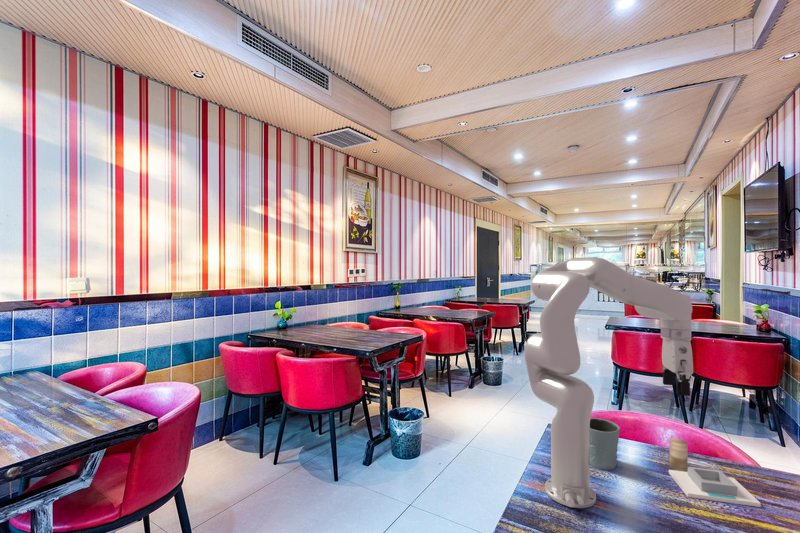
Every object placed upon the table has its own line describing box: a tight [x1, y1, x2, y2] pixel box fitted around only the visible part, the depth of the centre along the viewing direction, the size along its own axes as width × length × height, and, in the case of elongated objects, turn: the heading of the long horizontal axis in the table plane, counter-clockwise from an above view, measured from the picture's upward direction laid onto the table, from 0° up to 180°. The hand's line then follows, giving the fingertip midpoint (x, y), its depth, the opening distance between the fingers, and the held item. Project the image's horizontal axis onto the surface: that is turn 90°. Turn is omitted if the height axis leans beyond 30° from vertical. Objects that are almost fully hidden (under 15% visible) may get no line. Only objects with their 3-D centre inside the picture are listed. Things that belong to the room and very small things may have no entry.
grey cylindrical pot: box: [590, 417, 620, 471], centre depth 118 cm, size 10×10×12 cm
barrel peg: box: [669, 438, 689, 472], centre depth 115 cm, size 4×4×8 cm
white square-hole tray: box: [668, 466, 762, 508], centre depth 104 cm, size 12×16×4 cm
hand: (675, 389), depth 115 cm, fingers open, 9 cm apart
